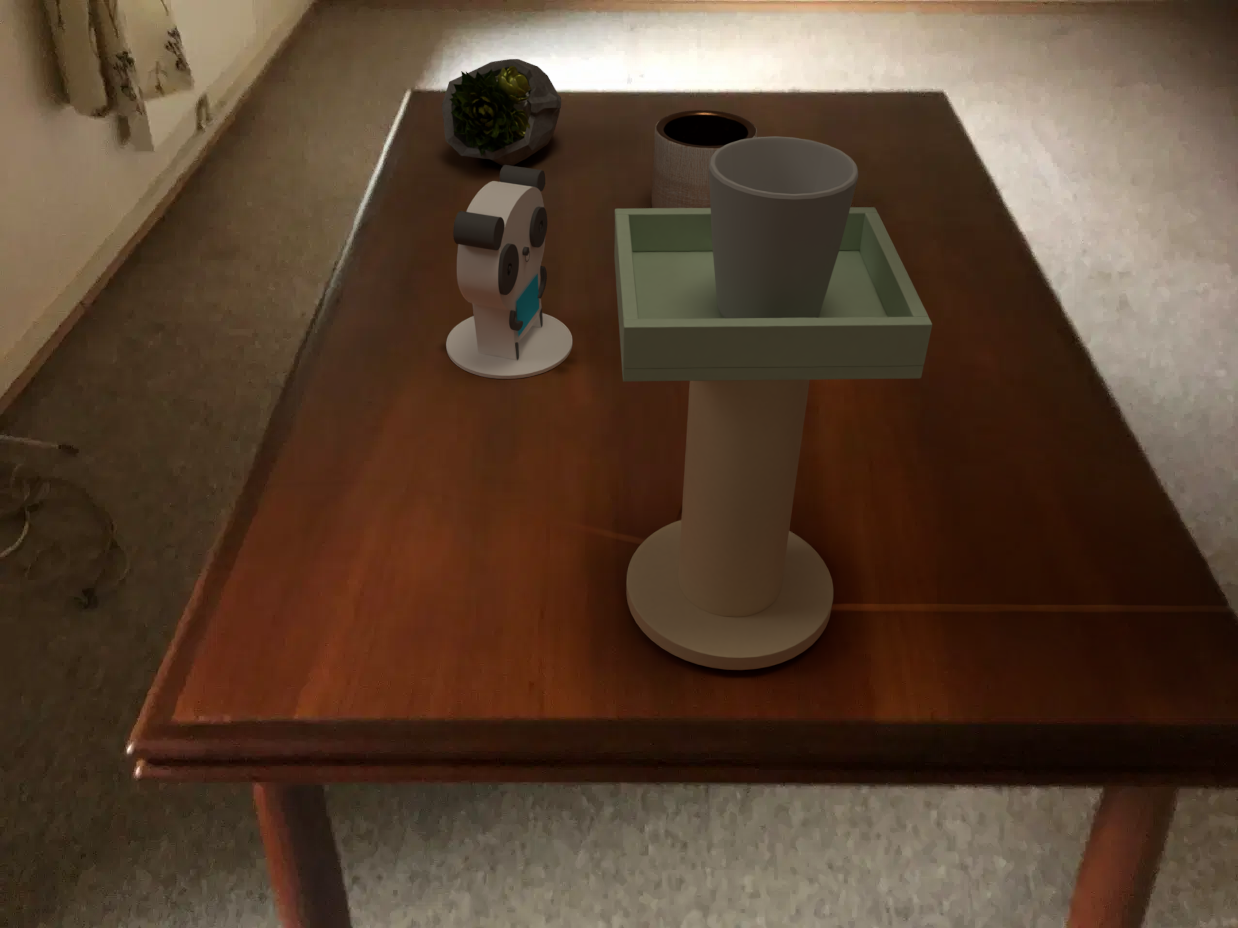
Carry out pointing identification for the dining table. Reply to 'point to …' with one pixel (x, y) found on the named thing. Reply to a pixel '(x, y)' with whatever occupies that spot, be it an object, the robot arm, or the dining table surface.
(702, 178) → the planter
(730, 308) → the cup
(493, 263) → the panda figurine
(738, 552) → the tray
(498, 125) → the potted plant
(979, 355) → the dining table surface
